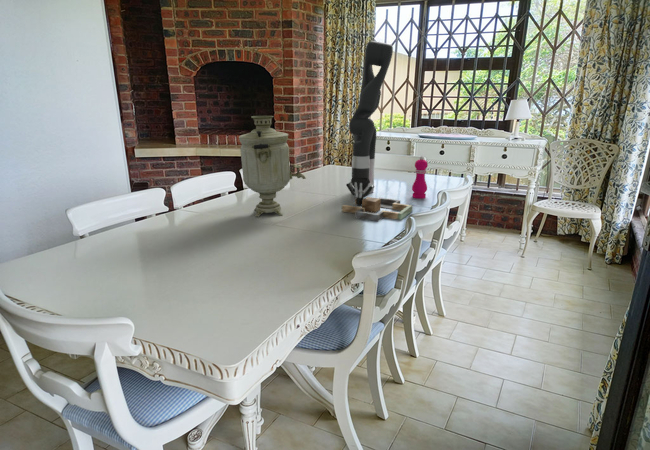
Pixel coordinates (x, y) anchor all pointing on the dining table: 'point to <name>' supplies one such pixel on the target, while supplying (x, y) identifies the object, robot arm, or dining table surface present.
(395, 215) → the wooden strip frame
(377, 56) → the robot arm
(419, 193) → the pepper mill
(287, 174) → the samovar
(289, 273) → the dining table surface
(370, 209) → the walnut block
